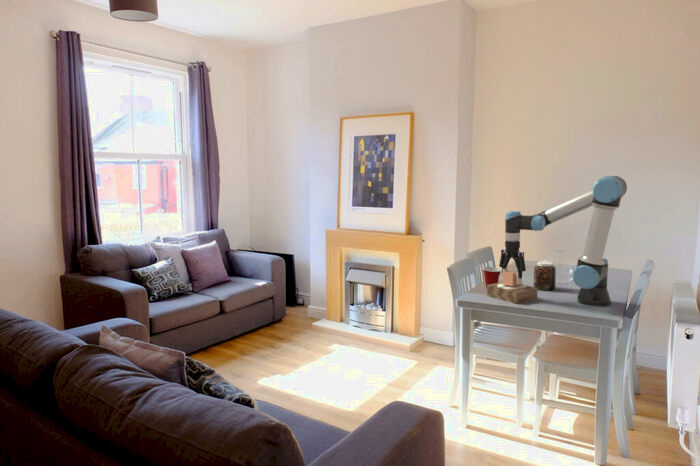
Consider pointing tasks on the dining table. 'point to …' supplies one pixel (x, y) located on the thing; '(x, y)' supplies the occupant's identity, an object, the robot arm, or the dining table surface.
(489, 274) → the plastic cup
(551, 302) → the dining table surface
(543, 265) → the jar
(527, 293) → the block
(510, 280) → the terracotta cube
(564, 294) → the dining table surface
